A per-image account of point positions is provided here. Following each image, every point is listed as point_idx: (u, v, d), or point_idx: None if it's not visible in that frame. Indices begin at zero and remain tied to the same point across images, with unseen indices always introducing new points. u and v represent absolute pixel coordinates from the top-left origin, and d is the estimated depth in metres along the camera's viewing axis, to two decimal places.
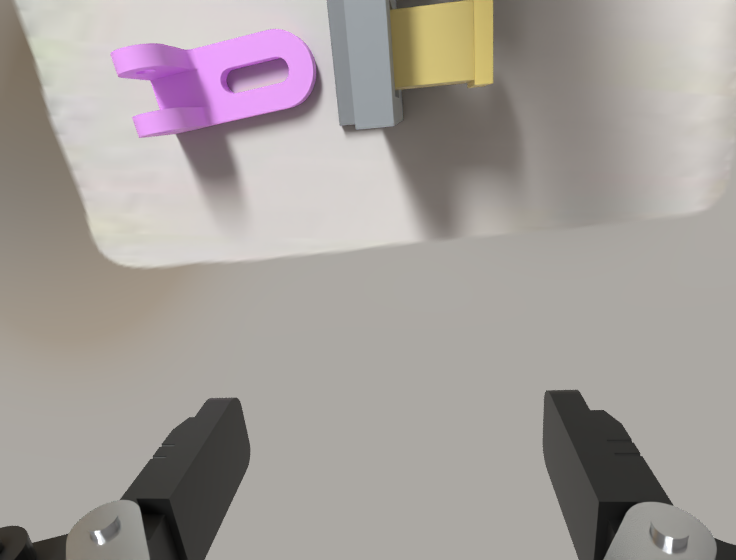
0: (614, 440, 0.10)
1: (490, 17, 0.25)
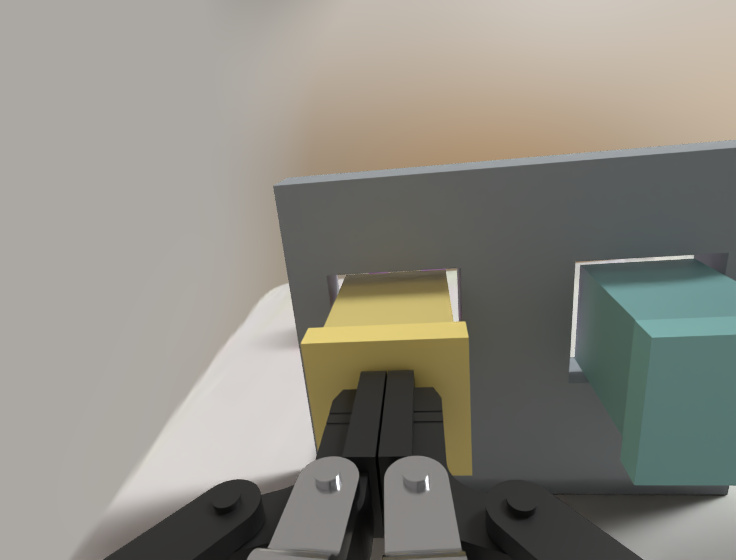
0: (428, 411, 0.12)
1: (419, 336, 0.13)
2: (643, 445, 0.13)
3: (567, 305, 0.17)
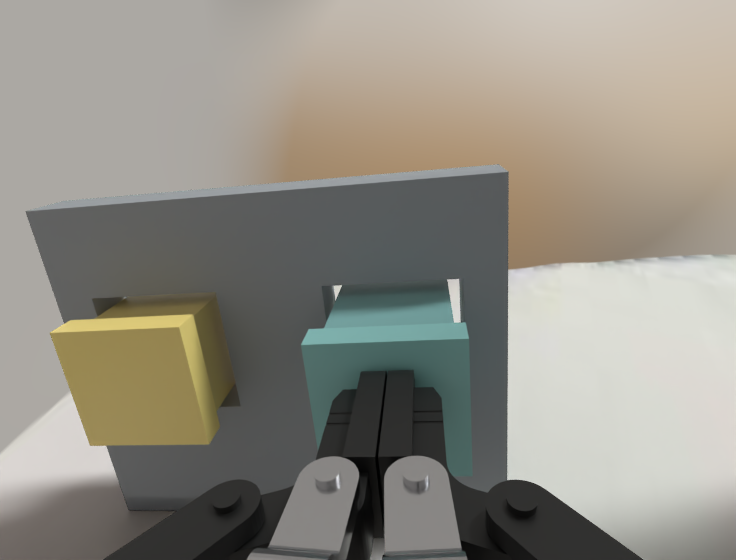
0: (428, 411, 0.12)
1: (143, 326, 0.15)
2: (320, 440, 0.14)
3: None
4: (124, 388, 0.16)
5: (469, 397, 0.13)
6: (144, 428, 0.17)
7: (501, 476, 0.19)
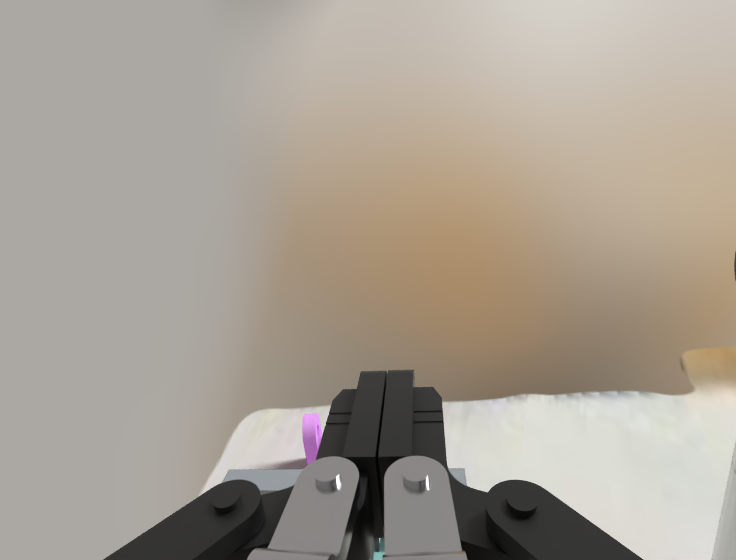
0: (428, 411, 0.12)
1: None
2: None
3: (372, 548, 0.33)
4: None
5: None
6: None
7: None
